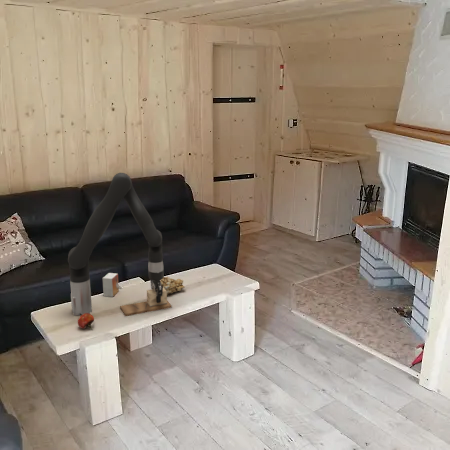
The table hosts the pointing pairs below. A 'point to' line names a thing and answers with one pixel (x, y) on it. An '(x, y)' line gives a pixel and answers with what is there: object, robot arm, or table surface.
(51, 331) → the table surface
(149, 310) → the board
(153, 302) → the sanding block
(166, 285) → the mineral formation
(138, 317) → the table surface
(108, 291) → the small box
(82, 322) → the pomegranate
